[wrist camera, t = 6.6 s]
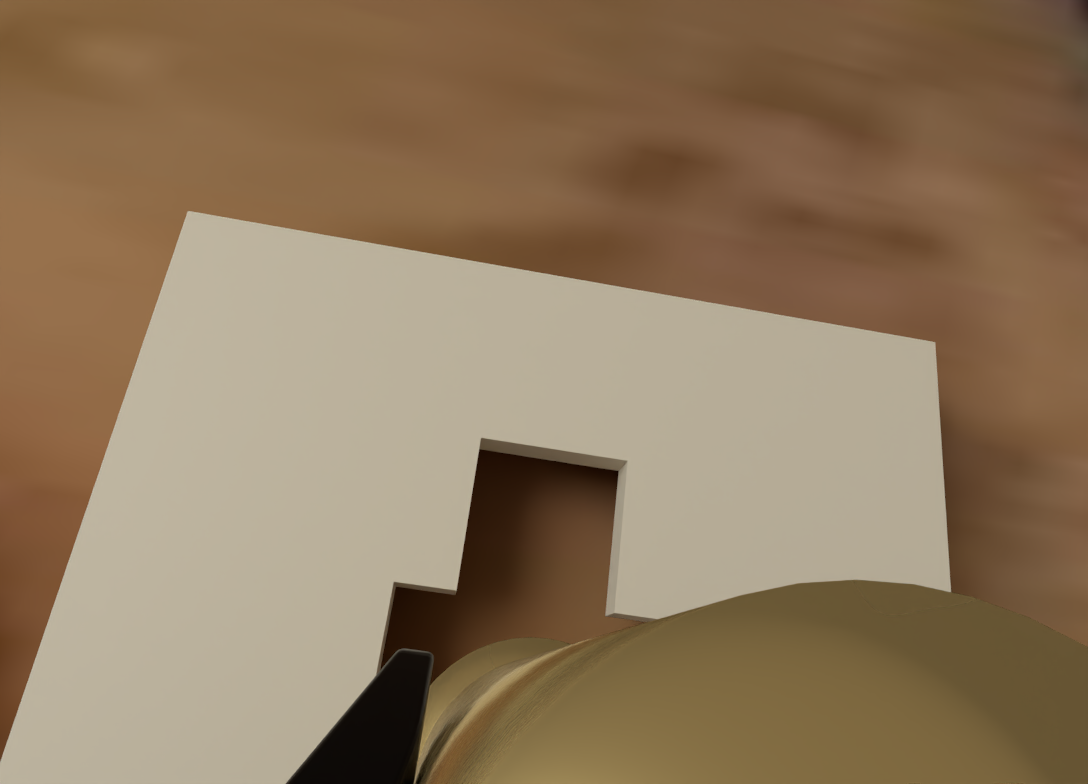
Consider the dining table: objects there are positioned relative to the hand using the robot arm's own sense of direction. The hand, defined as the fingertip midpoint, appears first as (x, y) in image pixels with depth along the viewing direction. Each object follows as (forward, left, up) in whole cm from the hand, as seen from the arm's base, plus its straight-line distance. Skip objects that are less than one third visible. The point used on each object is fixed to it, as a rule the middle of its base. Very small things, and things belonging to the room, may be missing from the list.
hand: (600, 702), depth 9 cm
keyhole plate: (0, -1, -11) cm, 11 cm away
